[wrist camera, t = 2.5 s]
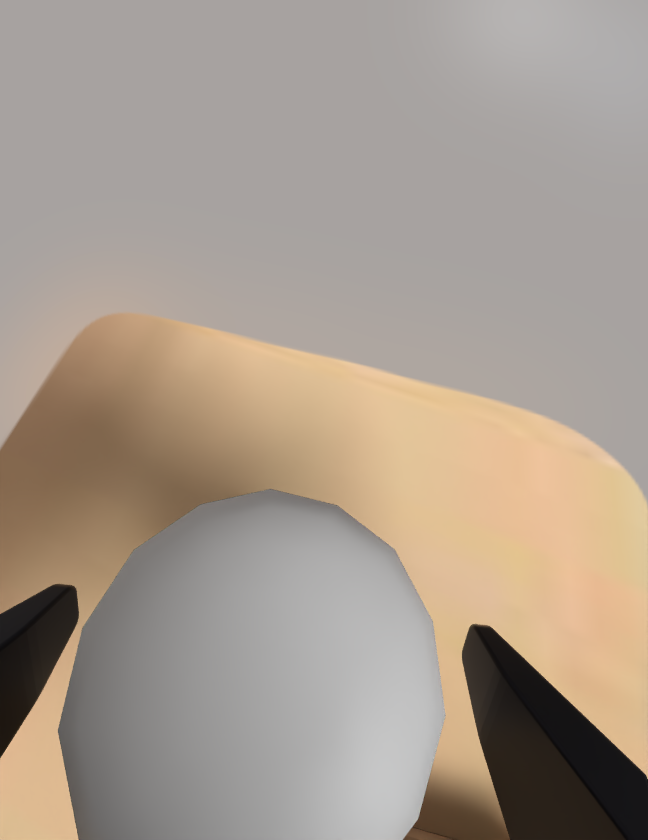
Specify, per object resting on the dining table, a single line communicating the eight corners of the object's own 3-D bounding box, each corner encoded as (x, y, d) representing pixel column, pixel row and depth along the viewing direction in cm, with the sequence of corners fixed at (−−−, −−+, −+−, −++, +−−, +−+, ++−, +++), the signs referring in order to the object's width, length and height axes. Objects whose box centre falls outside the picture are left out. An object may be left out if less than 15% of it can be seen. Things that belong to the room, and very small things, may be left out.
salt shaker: (178, 700, 14) (-301, 1079, 3) (229, 540, 17) (102, 373, 5) (336, 739, 14) (574, 1316, 2) (362, 572, 17) (536, 473, 5)
